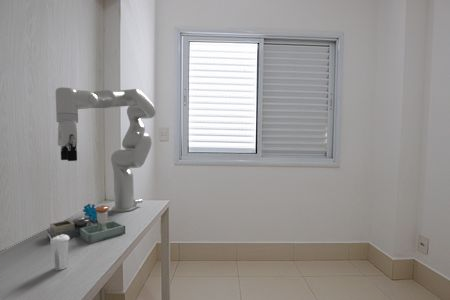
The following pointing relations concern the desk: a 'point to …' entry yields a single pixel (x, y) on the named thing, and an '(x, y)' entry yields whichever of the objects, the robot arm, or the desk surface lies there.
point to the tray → (102, 232)
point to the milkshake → (60, 251)
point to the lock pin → (102, 218)
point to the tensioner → (68, 227)
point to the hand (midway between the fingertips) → (68, 160)
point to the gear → (90, 212)
